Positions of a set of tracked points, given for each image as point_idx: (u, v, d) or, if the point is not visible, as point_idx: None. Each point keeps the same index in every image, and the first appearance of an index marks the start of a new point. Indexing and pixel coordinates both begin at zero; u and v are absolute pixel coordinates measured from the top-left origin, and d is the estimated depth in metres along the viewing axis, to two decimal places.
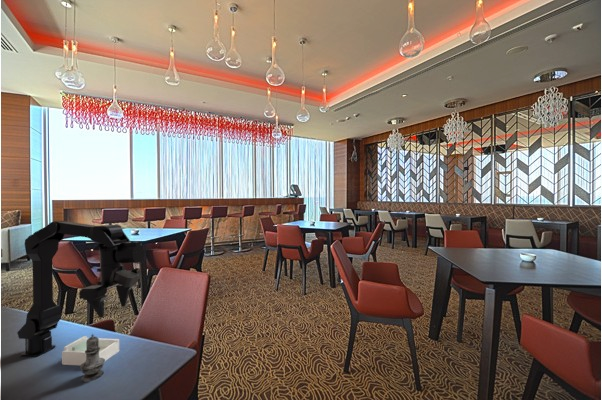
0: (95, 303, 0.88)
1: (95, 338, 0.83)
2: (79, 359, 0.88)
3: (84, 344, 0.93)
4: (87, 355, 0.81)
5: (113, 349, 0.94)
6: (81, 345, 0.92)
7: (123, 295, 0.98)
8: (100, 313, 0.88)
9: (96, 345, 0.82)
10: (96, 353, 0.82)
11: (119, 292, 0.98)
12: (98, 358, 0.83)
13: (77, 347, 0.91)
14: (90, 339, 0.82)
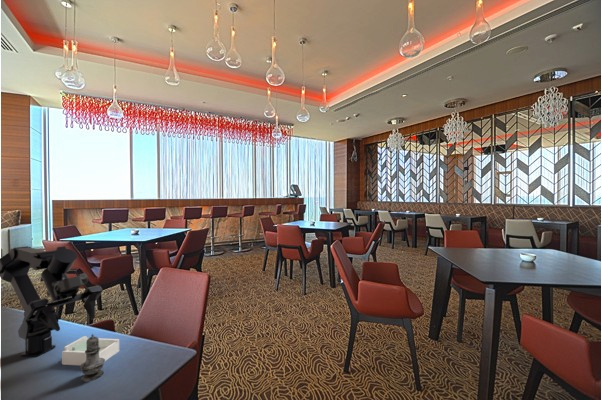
0: (46, 319, 0.83)
1: (95, 338, 0.83)
2: (79, 359, 0.88)
3: (84, 344, 0.93)
4: (87, 355, 0.81)
5: (113, 349, 0.94)
6: (81, 345, 0.92)
7: (89, 308, 0.92)
8: (54, 326, 0.82)
9: (96, 345, 0.82)
10: (96, 353, 0.82)
11: (86, 308, 0.93)
12: (98, 358, 0.83)
13: (77, 347, 0.91)
14: (90, 339, 0.82)
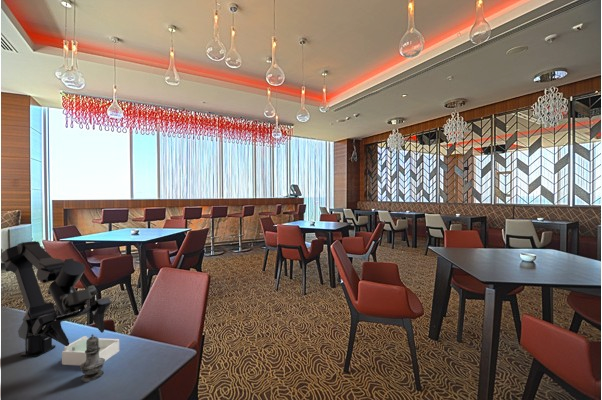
0: (55, 334, 0.81)
1: (95, 338, 0.83)
2: (79, 359, 0.88)
3: (84, 344, 0.93)
4: (87, 355, 0.81)
5: (113, 349, 0.94)
6: (81, 345, 0.92)
7: (98, 321, 0.90)
8: (64, 341, 0.80)
9: (96, 345, 0.82)
10: (96, 353, 0.82)
11: (95, 321, 0.90)
12: (98, 358, 0.83)
13: (77, 347, 0.91)
14: (90, 339, 0.82)
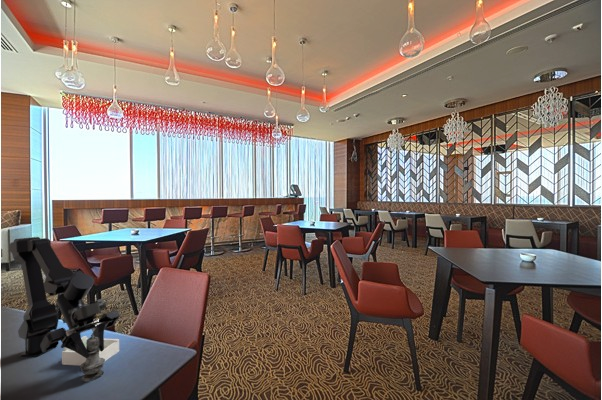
0: (75, 346, 0.81)
1: (95, 338, 0.83)
2: (79, 359, 0.88)
3: (84, 344, 0.93)
4: None
5: (113, 349, 0.94)
6: None
7: None
8: (83, 353, 0.80)
9: (96, 345, 0.82)
10: (96, 353, 0.82)
11: None
12: (98, 358, 0.83)
13: None
14: (90, 339, 0.82)
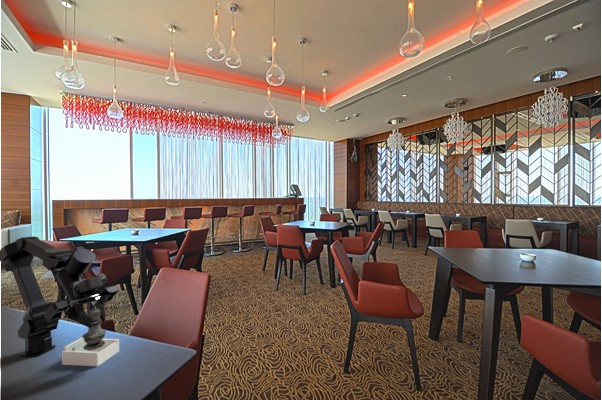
0: (78, 316, 0.85)
1: (97, 309, 0.87)
2: (79, 359, 0.88)
3: (84, 344, 0.93)
4: None
5: (113, 349, 0.94)
6: (81, 345, 0.92)
7: None
8: (87, 323, 0.84)
9: (98, 316, 0.87)
10: (98, 324, 0.86)
11: None
12: (100, 328, 0.87)
13: (77, 347, 0.91)
14: (93, 310, 0.86)
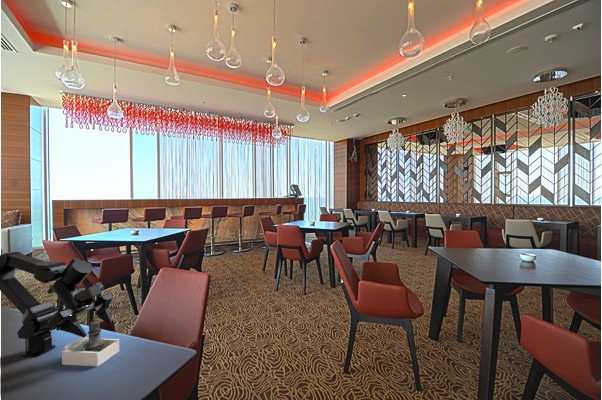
0: (71, 327, 0.87)
1: (97, 320, 0.93)
2: (79, 359, 0.88)
3: None
4: (90, 336, 0.91)
5: (113, 349, 0.94)
6: (81, 345, 0.92)
7: (104, 315, 0.97)
8: (81, 333, 0.87)
9: (98, 326, 0.93)
10: (99, 333, 0.92)
11: (100, 315, 0.98)
12: (100, 338, 0.93)
13: (77, 347, 0.91)
14: (93, 321, 0.92)
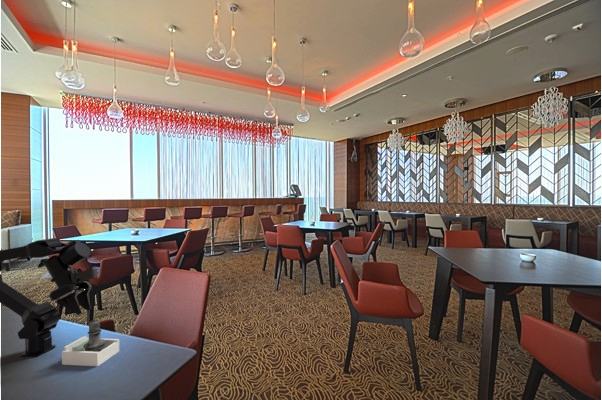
0: (68, 303, 0.91)
1: (97, 320, 0.93)
2: (79, 359, 0.88)
3: None
4: (90, 336, 0.91)
5: (113, 349, 0.94)
6: (81, 345, 0.92)
7: (84, 300, 1.01)
8: (78, 309, 0.92)
9: (98, 326, 0.93)
10: (99, 333, 0.92)
11: (78, 301, 1.01)
12: (100, 338, 0.93)
13: (77, 347, 0.91)
14: (93, 321, 0.92)
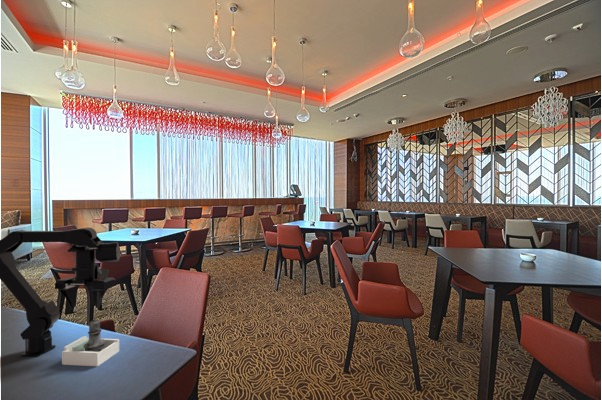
0: (99, 295, 1.00)
1: (97, 320, 0.93)
2: (79, 359, 0.88)
3: None
4: (91, 336, 0.91)
5: (113, 349, 0.94)
6: (81, 345, 0.92)
7: (73, 296, 1.02)
8: (99, 303, 1.01)
9: (99, 326, 0.93)
10: (99, 333, 0.92)
11: (69, 295, 1.01)
12: (100, 338, 0.93)
13: (77, 347, 0.91)
14: (93, 321, 0.92)
